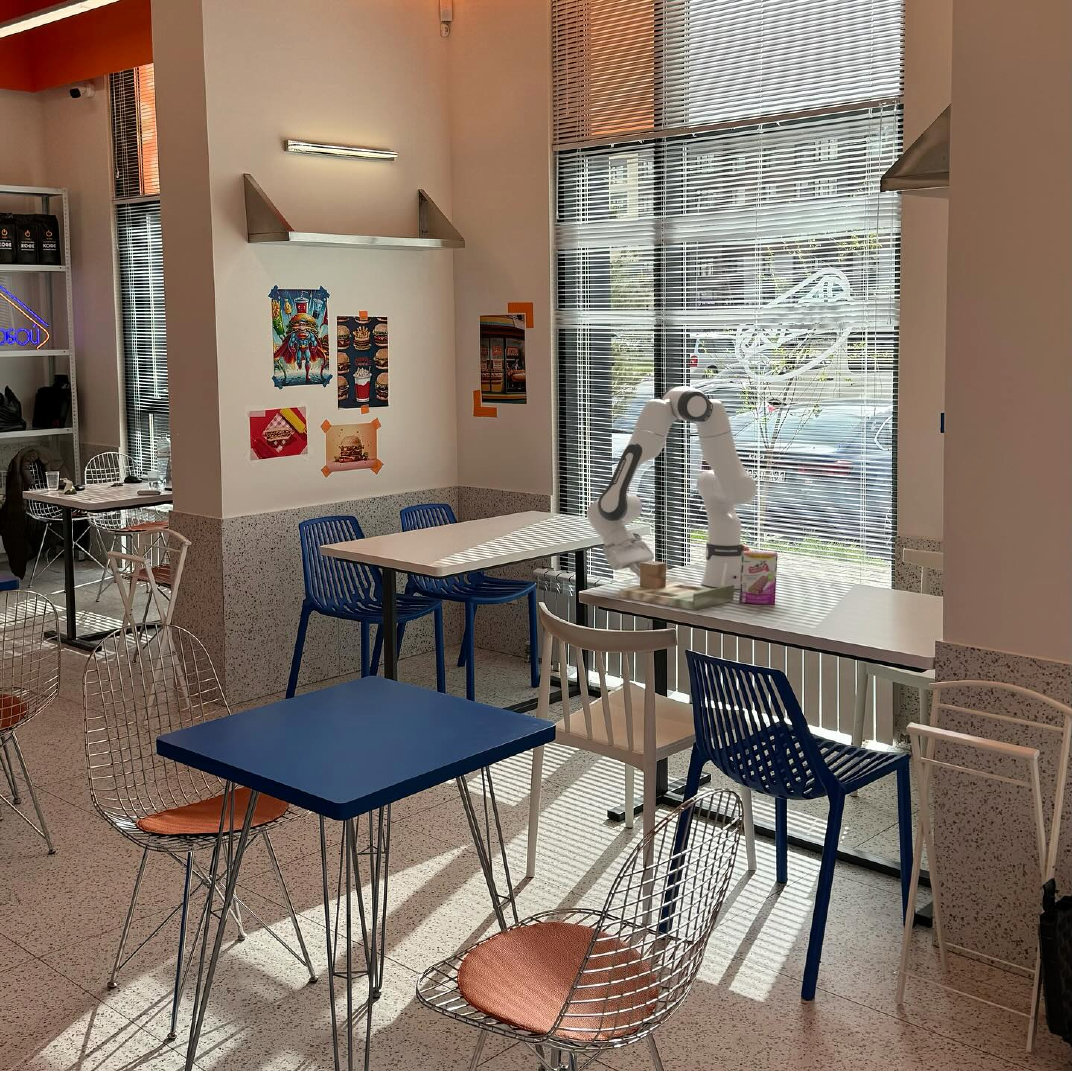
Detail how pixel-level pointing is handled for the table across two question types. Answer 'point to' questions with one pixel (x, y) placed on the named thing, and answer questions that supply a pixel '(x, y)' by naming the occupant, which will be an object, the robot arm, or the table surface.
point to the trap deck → (681, 595)
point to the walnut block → (653, 575)
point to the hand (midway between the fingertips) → (642, 575)
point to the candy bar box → (758, 577)
